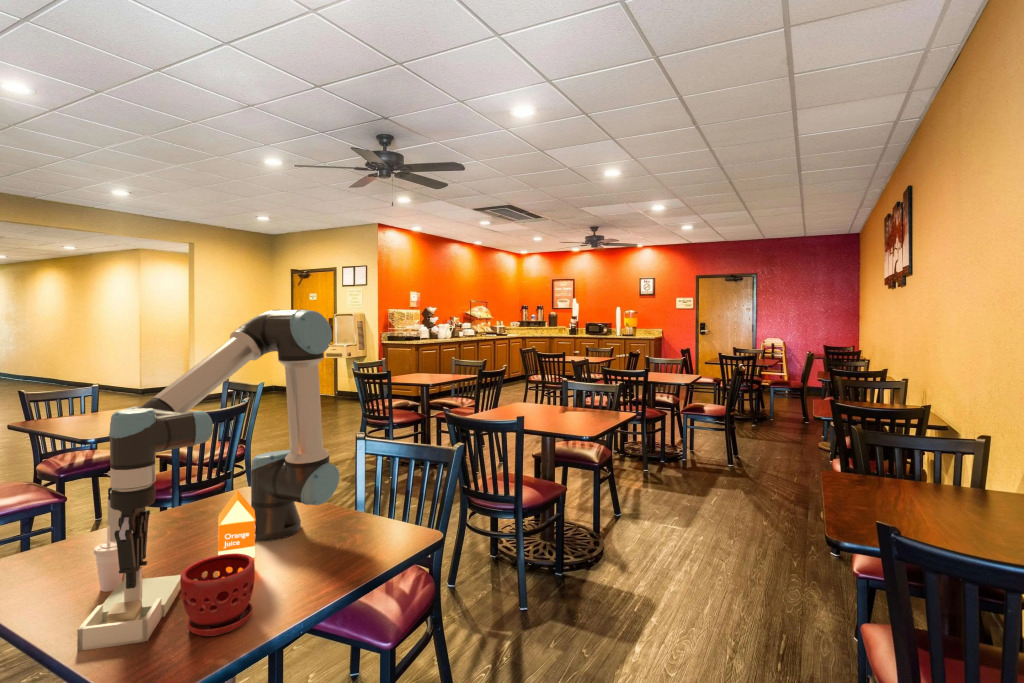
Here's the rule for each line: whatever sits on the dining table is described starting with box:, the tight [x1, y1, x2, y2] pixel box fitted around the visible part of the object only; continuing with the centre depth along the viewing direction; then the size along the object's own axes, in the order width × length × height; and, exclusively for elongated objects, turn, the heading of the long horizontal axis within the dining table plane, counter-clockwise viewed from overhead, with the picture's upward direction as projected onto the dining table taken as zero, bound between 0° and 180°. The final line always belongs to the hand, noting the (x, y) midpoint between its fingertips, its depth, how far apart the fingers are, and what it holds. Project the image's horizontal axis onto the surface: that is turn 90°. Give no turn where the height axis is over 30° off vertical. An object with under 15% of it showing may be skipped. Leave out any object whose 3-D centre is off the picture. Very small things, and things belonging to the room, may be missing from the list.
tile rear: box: [107, 600, 142, 624], centre depth 106 cm, size 4×4×2 cm
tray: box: [76, 598, 163, 652], centre depth 105 cm, size 11×9×4 cm
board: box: [101, 574, 181, 622], centre depth 116 cm, size 12×14×2 cm
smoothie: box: [92, 525, 124, 593], centre depth 122 cm, size 6×6×14 cm
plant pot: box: [180, 553, 256, 637], centre depth 108 cm, size 13×13×12 cm
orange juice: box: [217, 489, 256, 578], centre depth 128 cm, size 8×9×20 cm
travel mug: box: [107, 486, 121, 541], centre depth 135 cm, size 6×7×20 cm
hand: (133, 600), depth 110 cm, fingers closed
